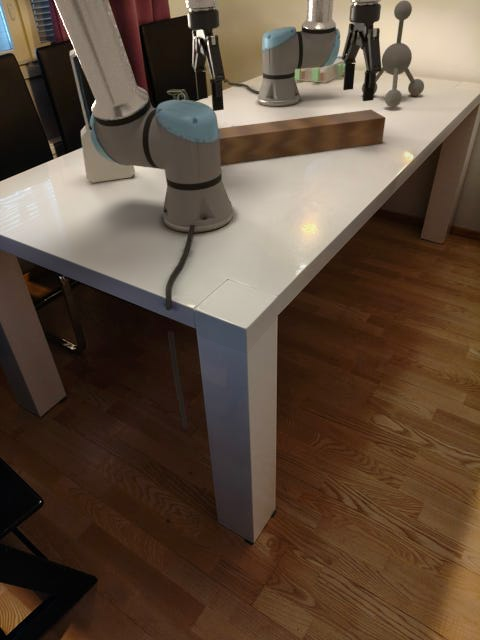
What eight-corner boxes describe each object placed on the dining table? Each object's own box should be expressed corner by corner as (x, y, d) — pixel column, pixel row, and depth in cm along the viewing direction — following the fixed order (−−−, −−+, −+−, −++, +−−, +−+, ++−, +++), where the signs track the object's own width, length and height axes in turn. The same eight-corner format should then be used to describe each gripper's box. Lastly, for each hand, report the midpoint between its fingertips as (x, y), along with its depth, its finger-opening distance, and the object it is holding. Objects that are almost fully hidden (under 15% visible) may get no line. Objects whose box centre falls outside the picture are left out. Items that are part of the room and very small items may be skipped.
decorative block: (314, 53, 218) (356, 56, 208) (314, 69, 221) (354, 72, 212) (284, 64, 202) (328, 68, 192) (284, 81, 205) (327, 85, 196)
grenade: (169, 124, 164) (164, 92, 158) (174, 119, 168) (171, 88, 162) (187, 125, 162) (184, 92, 156) (193, 120, 167) (189, 88, 161)
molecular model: (443, 101, 169) (463, -1, 151) (390, 111, 164) (404, 5, 145) (402, 88, 187) (415, -6, 169) (352, 96, 181) (360, 0, 163)
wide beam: (180, 170, 130) (176, 144, 126) (175, 159, 137) (172, 134, 133) (382, 143, 140) (385, 117, 135) (368, 134, 147) (371, 109, 142)
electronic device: (87, 183, 126) (55, 53, 107) (87, 173, 131) (56, 48, 113) (136, 176, 128) (112, 47, 110) (133, 167, 134) (110, 43, 115)
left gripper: (235, 12, 107) (239, 113, 120) (202, 3, 126) (209, 92, 139) (202, 15, 105) (210, 117, 118) (174, 6, 124) (184, 95, 137)
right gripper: (403, 6, 112) (390, 103, 125) (359, -2, 132) (352, 84, 145) (373, 8, 111) (363, 107, 124) (333, 0, 131) (328, 86, 143)
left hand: (210, 104), depth 128 cm, fingers open, 13 cm apart
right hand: (357, 94), depth 134 cm, fingers open, 13 cm apart
